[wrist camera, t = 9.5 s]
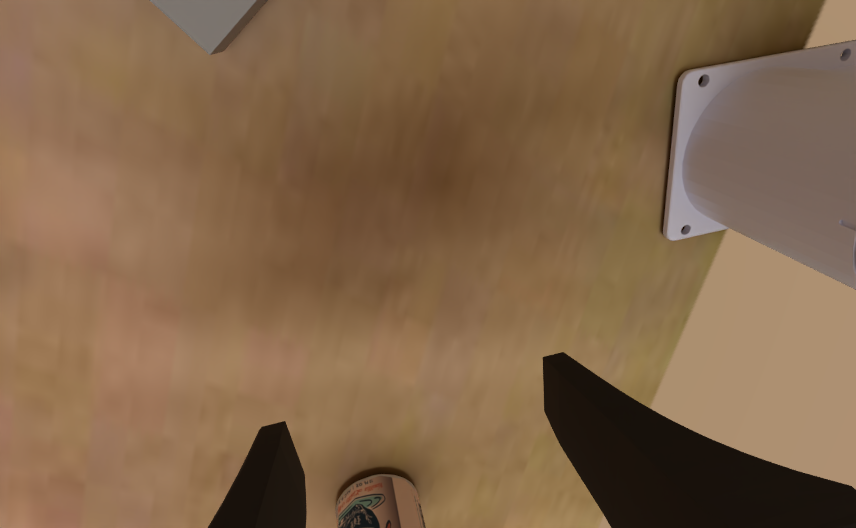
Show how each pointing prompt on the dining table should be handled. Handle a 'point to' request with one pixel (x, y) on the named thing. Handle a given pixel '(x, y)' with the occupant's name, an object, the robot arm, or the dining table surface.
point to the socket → (210, 19)
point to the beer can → (380, 504)
